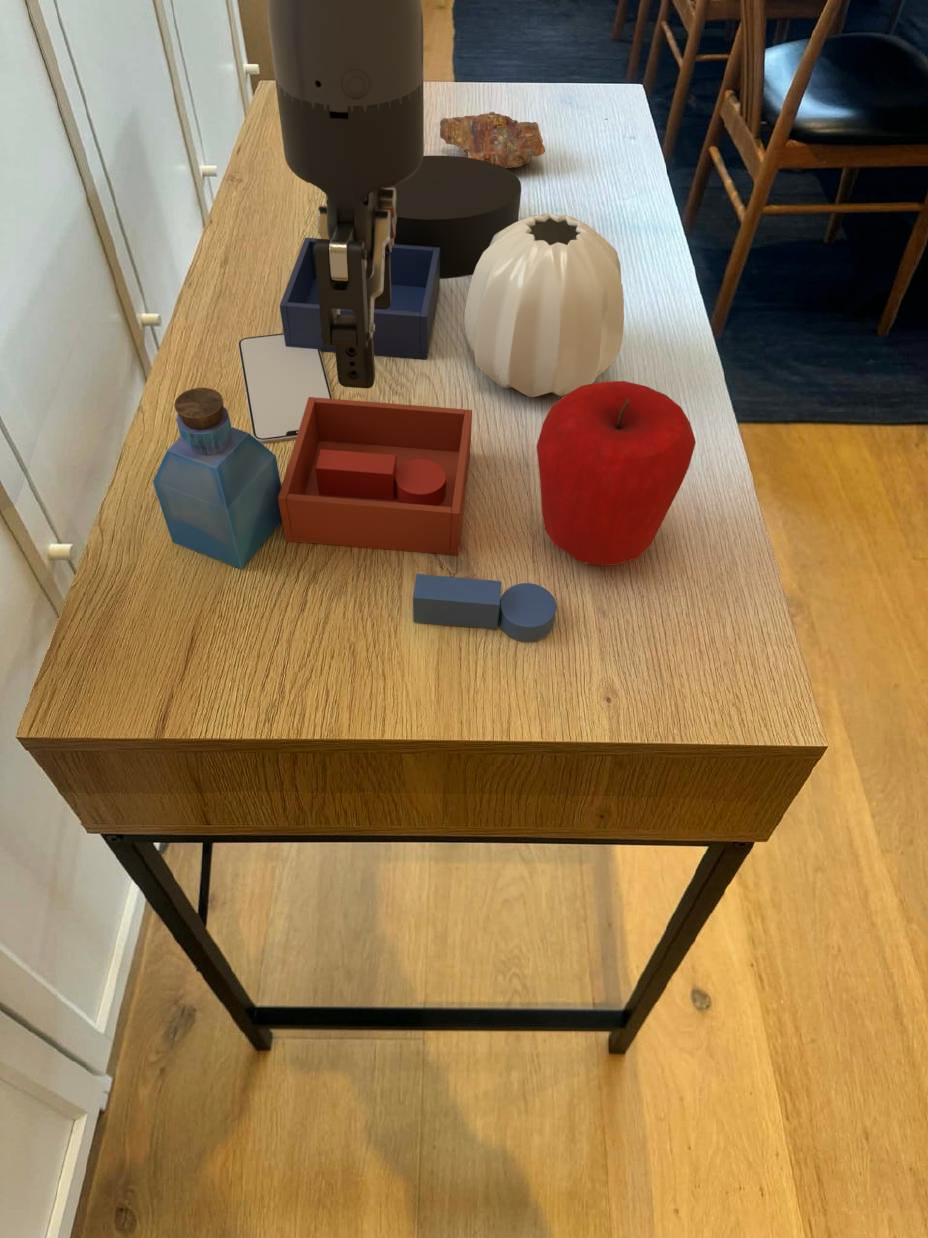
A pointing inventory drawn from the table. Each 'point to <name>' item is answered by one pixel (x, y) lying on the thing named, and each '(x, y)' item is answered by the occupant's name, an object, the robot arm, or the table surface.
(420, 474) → the red spoon
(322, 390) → the smartphone
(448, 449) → the terracotta bin
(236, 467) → the perfume bottle
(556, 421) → the apple
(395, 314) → the navy bin
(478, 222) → the black oval cylinder
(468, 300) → the vase
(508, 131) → the mineral specimen
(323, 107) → the robot arm
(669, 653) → the table surface
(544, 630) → the blue spoon
